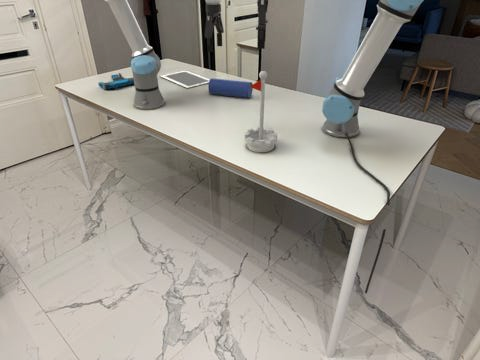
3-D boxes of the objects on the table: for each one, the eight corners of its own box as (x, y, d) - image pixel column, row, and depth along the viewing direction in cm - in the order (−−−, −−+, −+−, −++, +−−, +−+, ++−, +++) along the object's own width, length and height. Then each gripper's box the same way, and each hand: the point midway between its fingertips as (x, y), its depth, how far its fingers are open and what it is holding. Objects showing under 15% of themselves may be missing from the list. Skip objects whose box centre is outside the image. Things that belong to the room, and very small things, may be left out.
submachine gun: (142, 67, 226) (160, 73, 209) (143, 73, 228) (161, 80, 211) (90, 77, 207) (106, 85, 191) (92, 83, 209) (108, 91, 193)
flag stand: (268, 136, 145) (271, 64, 128) (282, 150, 134) (288, 73, 118) (239, 141, 141) (239, 68, 124) (252, 155, 130) (253, 77, 114)
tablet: (159, 76, 219) (159, 75, 219) (186, 70, 230) (186, 70, 230) (187, 88, 199) (187, 87, 198) (214, 81, 210) (214, 80, 210)
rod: (252, 95, 189) (252, 80, 184) (248, 100, 182) (248, 84, 178) (214, 91, 195) (213, 76, 191) (208, 95, 188) (207, 80, 184)
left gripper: (215, 0, 177) (217, 43, 189) (195, 5, 157) (198, 53, 169) (229, 1, 175) (229, 44, 187) (210, 6, 155) (212, 54, 167)
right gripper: (254, -21, 131) (253, 38, 143) (250, -17, 110) (250, 51, 122) (273, -21, 131) (271, 38, 142) (274, -17, 110) (270, 52, 122)
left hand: (215, 48), depth 178 cm, fingers open, 13 cm apart
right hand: (261, 44), depth 132 cm, fingers open, 13 cm apart
